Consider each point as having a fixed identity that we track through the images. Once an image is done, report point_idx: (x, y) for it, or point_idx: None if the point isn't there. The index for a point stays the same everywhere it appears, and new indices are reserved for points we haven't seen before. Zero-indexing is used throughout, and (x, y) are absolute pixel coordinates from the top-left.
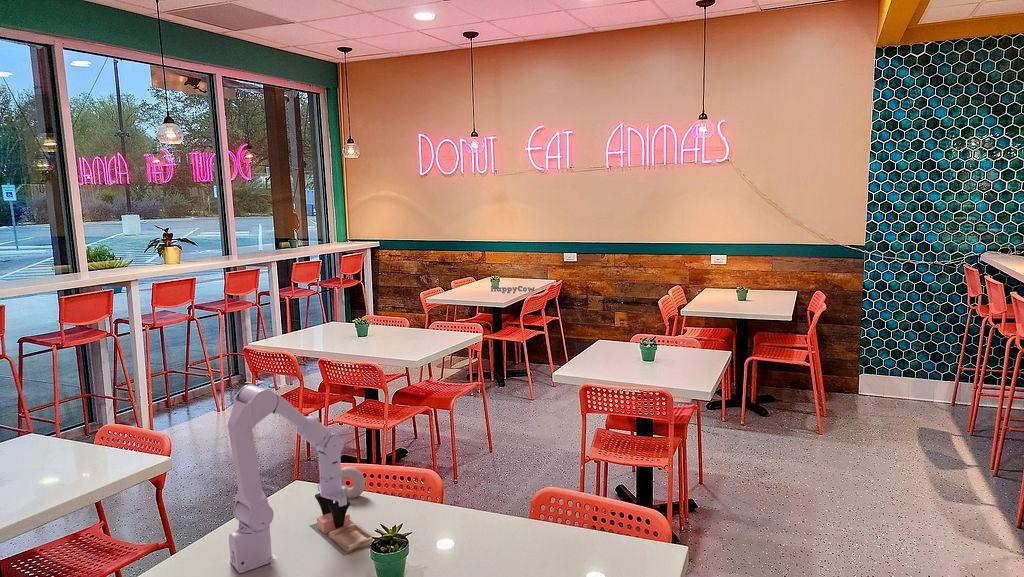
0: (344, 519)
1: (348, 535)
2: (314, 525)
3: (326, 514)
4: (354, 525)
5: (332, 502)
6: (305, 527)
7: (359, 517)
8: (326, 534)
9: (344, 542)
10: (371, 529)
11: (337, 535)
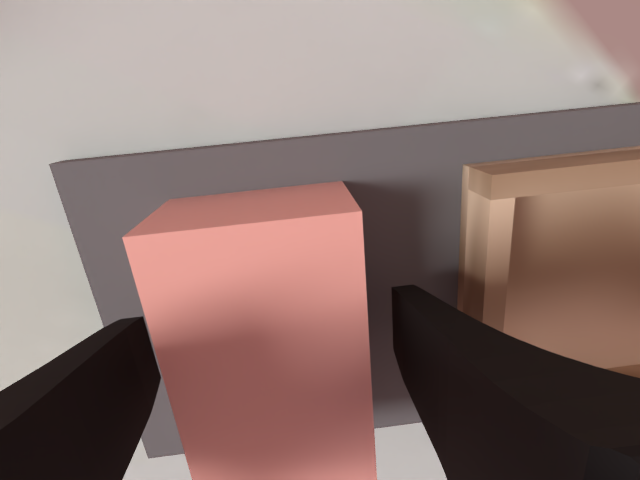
0: (454, 308)
1: (564, 279)
2: (168, 429)
3: (191, 430)
4: (510, 198)
5: (26, 430)
6: (132, 460)
7: (178, 5)
8: (386, 395)
9: (637, 338)
10: (539, 15)
11: None
